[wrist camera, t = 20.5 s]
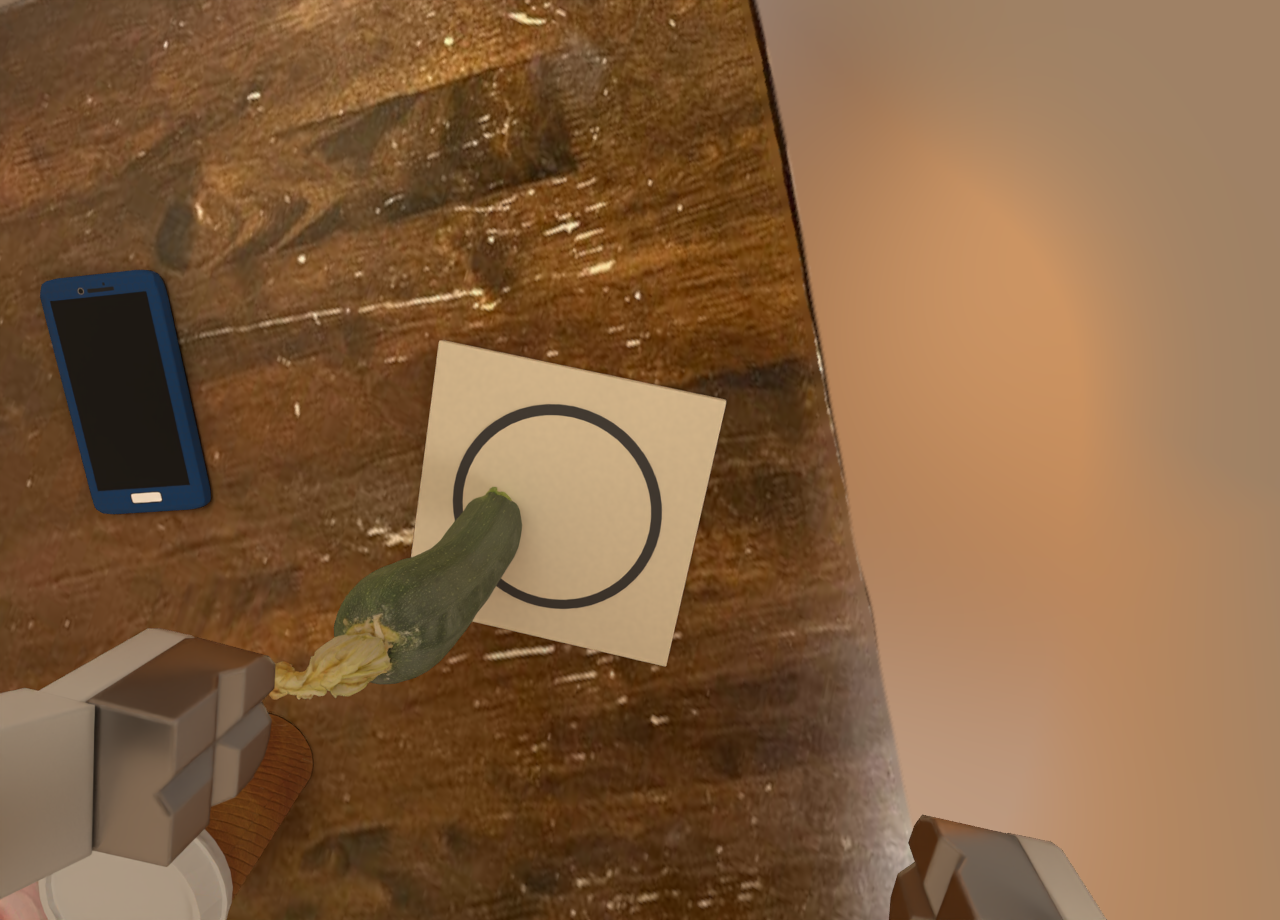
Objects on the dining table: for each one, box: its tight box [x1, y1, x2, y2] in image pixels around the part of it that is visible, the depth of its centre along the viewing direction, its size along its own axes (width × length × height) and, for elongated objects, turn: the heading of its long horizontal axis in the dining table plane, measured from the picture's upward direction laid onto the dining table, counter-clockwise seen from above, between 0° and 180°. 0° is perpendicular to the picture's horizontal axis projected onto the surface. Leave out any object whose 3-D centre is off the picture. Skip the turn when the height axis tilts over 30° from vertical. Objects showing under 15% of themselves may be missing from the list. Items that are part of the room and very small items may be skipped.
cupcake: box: [0, 881, 48, 920], centre depth 45 cm, size 9×9×10 cm
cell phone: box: [40, 270, 211, 514], centre depth 42 cm, size 7×14×1 cm, turn 5°
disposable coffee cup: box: [38, 714, 313, 920], centre depth 41 cm, size 10×10×12 cm
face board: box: [411, 340, 726, 666], centre depth 41 cm, size 16×16×1 cm
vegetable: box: [269, 487, 522, 699], centre depth 31 cm, size 4×4×20 cm
